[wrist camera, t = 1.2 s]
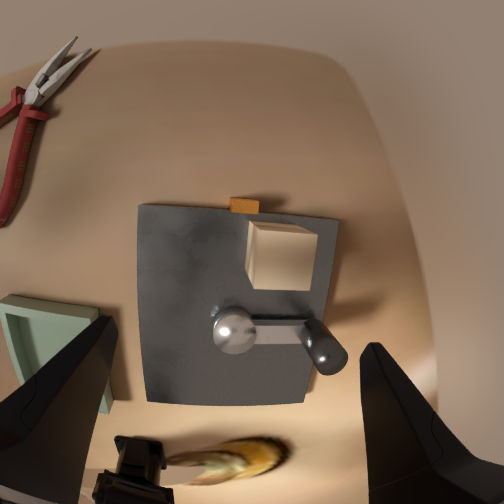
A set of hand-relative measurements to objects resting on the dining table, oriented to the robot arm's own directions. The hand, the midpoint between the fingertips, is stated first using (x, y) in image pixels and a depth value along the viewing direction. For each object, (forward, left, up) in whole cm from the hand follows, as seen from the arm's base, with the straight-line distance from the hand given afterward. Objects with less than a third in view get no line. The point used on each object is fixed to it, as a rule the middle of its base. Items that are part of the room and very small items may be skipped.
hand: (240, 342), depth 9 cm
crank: (-7, -5, -15) cm, 17 cm away
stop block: (0, -4, -15) cm, 16 cm away
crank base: (-7, -2, -16) cm, 18 cm away
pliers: (+9, +21, -17) cm, 29 cm away
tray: (-13, +17, -16) cm, 27 cm away
